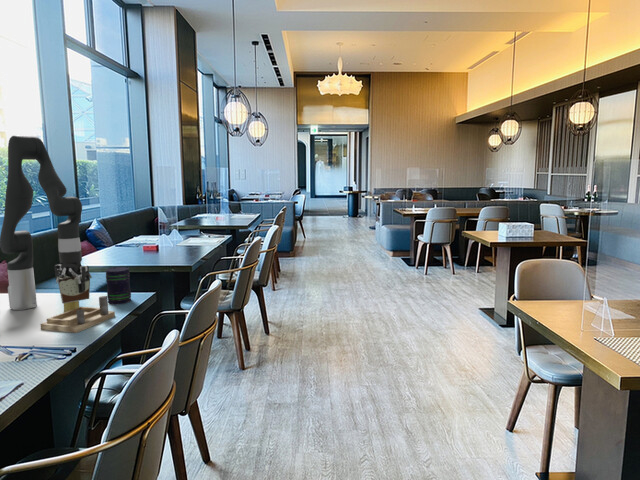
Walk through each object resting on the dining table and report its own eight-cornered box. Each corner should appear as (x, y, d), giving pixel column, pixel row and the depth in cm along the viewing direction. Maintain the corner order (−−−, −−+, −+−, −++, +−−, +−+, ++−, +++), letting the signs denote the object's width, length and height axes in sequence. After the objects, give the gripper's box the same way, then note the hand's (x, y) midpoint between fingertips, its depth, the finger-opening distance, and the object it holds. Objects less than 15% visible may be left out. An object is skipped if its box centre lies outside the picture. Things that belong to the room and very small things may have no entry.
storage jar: (135, 301, 204) (133, 268, 202) (113, 305, 197) (111, 272, 195) (125, 297, 211) (123, 265, 208) (103, 301, 203) (101, 269, 201)
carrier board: (40, 329, 167) (38, 305, 166) (82, 313, 186) (80, 292, 185) (76, 332, 163) (74, 308, 162) (114, 316, 182) (113, 294, 181)
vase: (83, 309, 192) (80, 276, 189) (74, 314, 185) (71, 280, 183) (69, 309, 192) (67, 276, 190) (60, 313, 186) (57, 279, 184)
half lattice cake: (87, 295, 181) (85, 270, 179) (93, 298, 176) (91, 273, 175) (53, 301, 172) (51, 275, 170) (58, 304, 168) (56, 278, 166)
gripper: (46, 250, 169) (50, 293, 172) (77, 252, 166) (81, 295, 168) (62, 247, 176) (66, 288, 179) (93, 248, 173) (96, 290, 175)
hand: (73, 291), depth 173 cm, fingers closed on half lattice cake, 7 cm apart
